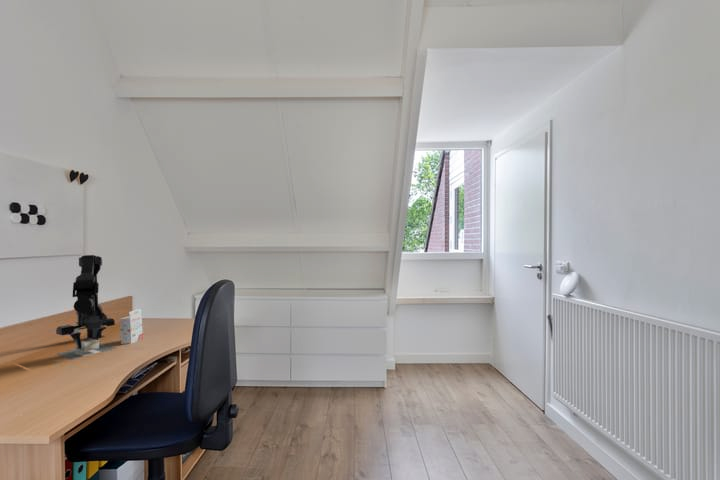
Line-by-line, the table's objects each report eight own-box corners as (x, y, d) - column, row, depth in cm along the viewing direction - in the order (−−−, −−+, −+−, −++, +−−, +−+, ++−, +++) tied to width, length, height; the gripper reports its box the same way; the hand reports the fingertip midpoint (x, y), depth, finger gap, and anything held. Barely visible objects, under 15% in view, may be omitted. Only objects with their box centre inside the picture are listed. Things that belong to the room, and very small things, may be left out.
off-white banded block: (84, 351, 144) (84, 343, 144) (75, 348, 148) (75, 340, 148) (99, 348, 148) (98, 340, 148) (90, 345, 152) (89, 337, 152)
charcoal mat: (55, 355, 148) (55, 353, 148) (100, 344, 161) (100, 343, 161) (72, 360, 140) (72, 359, 140) (117, 349, 154) (117, 347, 154)
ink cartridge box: (132, 339, 169) (131, 308, 169) (143, 339, 169) (142, 308, 169) (120, 345, 160) (119, 312, 160) (131, 344, 160) (130, 311, 160)
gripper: (67, 315, 136) (68, 356, 136) (120, 306, 152) (121, 343, 152) (55, 312, 142) (56, 352, 142) (107, 304, 158) (108, 340, 158)
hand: (87, 346), depth 148 cm, fingers closed on off-white banded block, 5 cm apart
